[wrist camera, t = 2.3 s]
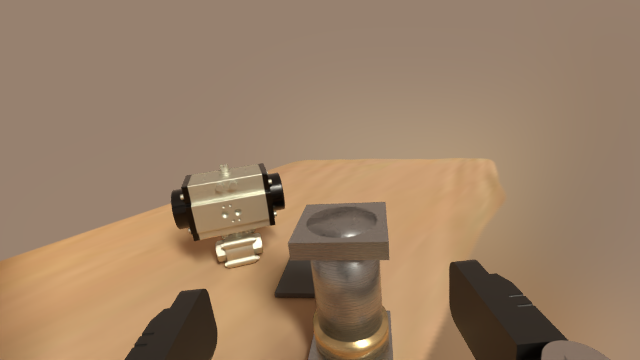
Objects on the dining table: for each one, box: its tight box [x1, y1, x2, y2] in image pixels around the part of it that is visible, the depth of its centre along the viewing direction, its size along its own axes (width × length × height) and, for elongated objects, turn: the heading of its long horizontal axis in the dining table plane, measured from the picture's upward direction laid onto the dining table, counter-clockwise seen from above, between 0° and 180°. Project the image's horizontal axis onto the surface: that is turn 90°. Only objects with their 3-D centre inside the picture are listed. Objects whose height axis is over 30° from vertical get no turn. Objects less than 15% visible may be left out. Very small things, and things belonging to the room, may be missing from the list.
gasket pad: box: [275, 259, 315, 298], centre depth 36 cm, size 8×8×1 cm
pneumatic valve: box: [171, 164, 285, 268], centre depth 38 cm, size 6×12×12 cm, turn 105°
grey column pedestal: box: [288, 202, 393, 360], centre depth 24 cm, size 6×6×11 cm
